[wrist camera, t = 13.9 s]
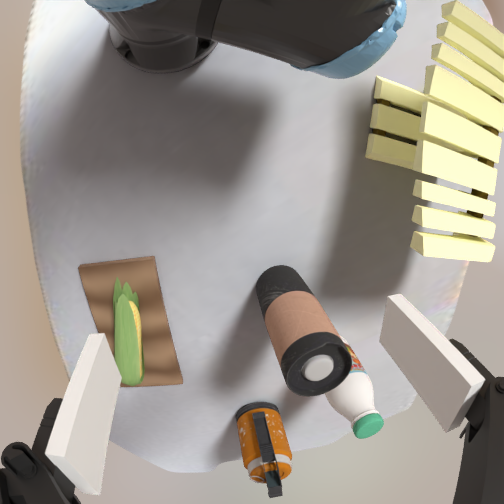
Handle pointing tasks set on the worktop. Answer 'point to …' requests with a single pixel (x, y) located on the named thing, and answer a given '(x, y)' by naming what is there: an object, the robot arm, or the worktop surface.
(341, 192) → the worktop surface
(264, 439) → the canister
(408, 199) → the worktop surface
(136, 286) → the serving board
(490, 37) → the slatted curved stool
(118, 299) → the edible corn
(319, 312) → the travel mug
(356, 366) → the milk bottle
